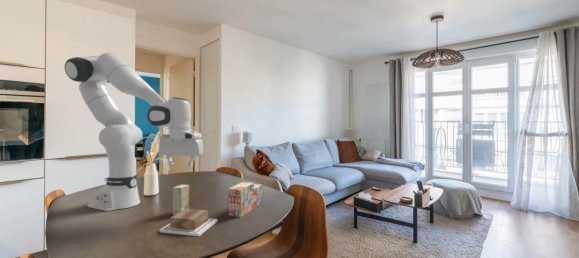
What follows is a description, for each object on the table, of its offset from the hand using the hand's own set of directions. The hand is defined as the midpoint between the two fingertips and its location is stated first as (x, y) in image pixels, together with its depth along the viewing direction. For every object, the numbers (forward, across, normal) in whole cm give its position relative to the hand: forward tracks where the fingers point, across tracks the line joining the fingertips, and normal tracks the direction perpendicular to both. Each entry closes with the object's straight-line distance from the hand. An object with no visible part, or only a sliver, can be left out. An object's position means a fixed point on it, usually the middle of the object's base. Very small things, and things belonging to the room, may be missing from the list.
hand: (180, 165), depth 114 cm
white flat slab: (+21, +12, -12) cm, 27 cm away
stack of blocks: (+22, +26, +12) cm, 36 cm away
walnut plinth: (+21, +12, -12) cm, 27 cm away
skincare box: (+22, 0, 0) cm, 22 cm away
